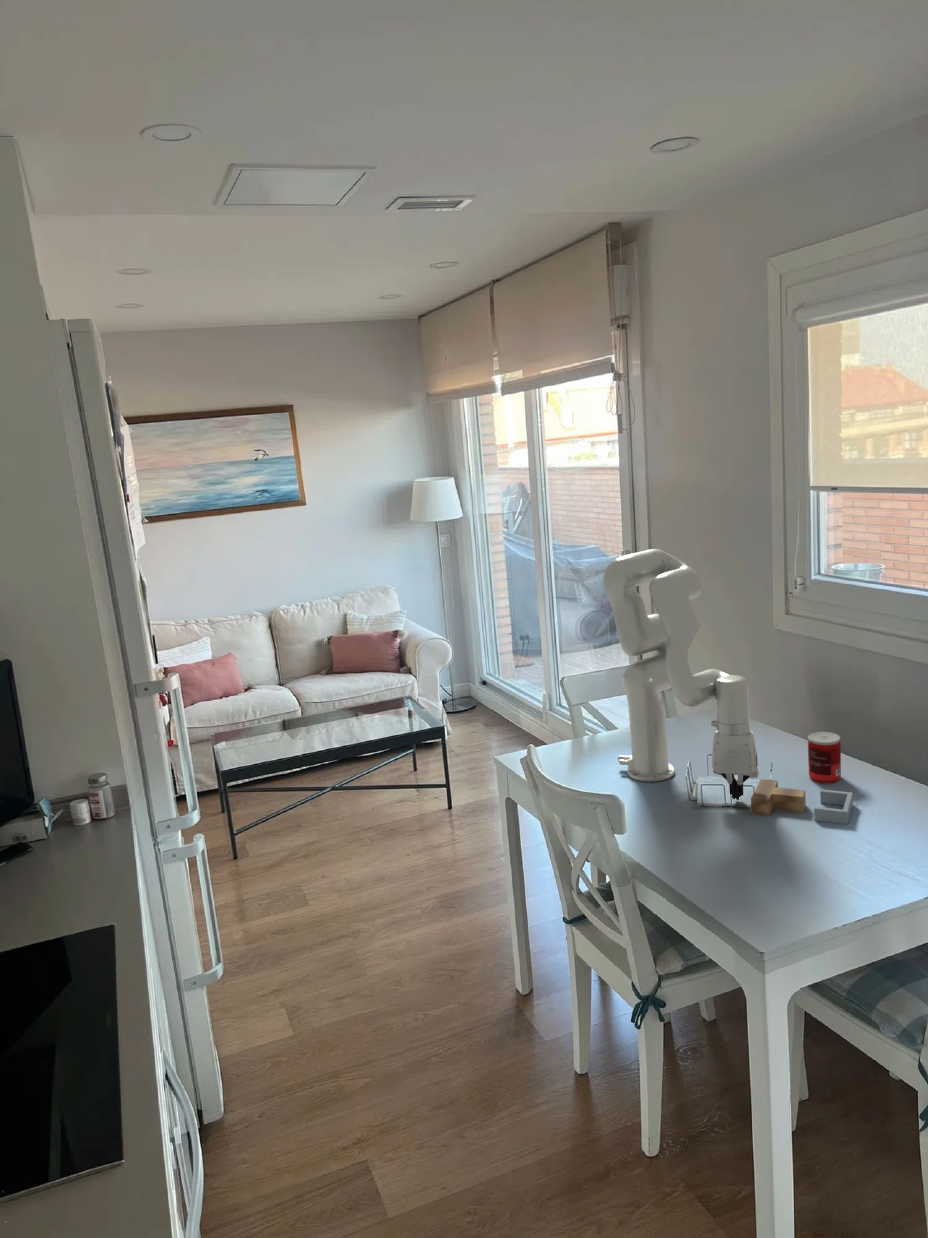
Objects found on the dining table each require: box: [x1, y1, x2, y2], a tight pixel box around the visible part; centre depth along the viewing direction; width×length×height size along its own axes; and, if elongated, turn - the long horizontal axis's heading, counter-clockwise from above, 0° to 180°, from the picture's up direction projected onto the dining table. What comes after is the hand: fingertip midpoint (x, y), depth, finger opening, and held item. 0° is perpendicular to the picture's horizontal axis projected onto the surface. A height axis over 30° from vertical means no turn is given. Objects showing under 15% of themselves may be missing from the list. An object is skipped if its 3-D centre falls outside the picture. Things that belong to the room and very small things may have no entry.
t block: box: [750, 778, 807, 817], centre depth 214 cm, size 11×12×4 cm
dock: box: [813, 789, 854, 825], centre depth 209 cm, size 7×11×3 cm, turn 151°
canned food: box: [807, 731, 842, 784], centre depth 227 cm, size 8×8×11 cm
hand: (736, 797), depth 219 cm, fingers closed
